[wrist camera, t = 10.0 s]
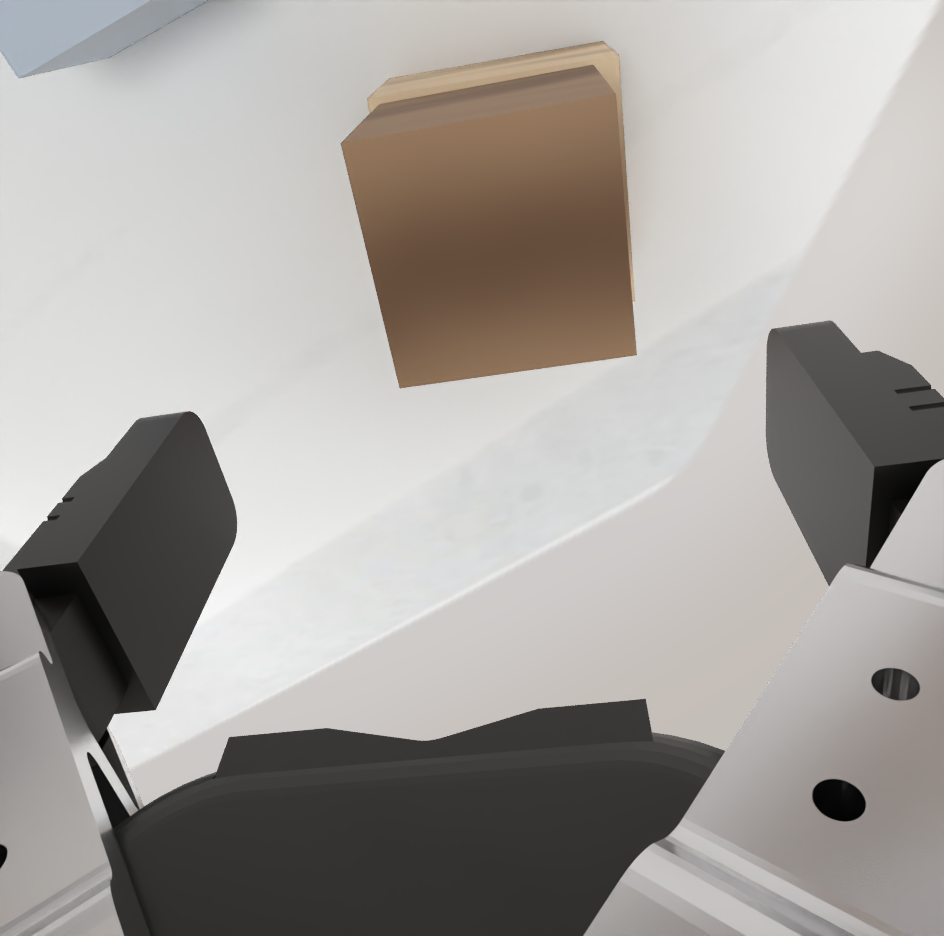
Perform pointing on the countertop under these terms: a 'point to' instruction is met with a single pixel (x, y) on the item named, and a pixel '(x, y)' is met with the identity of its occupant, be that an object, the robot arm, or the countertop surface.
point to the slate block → (78, 29)
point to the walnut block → (496, 226)
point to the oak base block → (509, 70)
